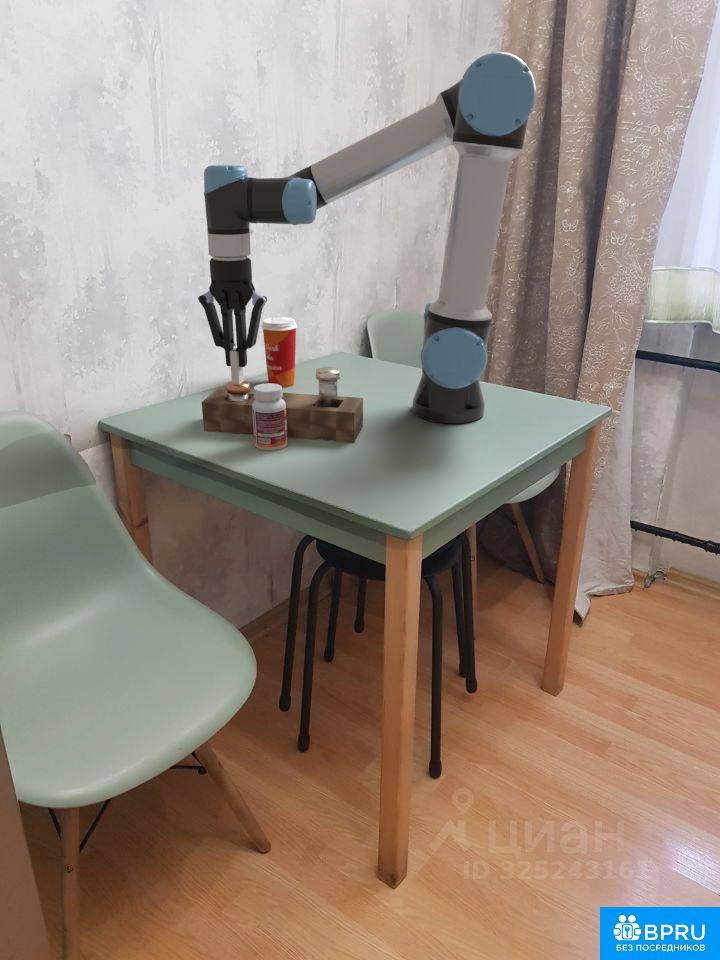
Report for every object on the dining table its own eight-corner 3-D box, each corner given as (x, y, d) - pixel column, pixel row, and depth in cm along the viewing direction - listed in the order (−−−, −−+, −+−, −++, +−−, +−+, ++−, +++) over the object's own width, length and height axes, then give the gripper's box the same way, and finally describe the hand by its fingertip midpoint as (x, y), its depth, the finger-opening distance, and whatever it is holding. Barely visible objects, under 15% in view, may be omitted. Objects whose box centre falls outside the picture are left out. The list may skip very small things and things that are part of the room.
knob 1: (255, 414, 148) (253, 381, 145) (247, 422, 144) (245, 387, 141) (233, 413, 149) (231, 379, 146) (225, 420, 145) (222, 386, 142)
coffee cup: (259, 381, 175) (256, 318, 169) (292, 377, 178) (290, 315, 172) (270, 391, 168) (267, 325, 162) (304, 387, 171) (302, 322, 165)
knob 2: (342, 402, 144) (342, 367, 141) (337, 410, 140) (337, 374, 137) (319, 401, 145) (318, 366, 142) (313, 408, 140) (313, 372, 138)
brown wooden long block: (362, 426, 147) (363, 397, 145) (354, 442, 139) (354, 412, 137) (220, 416, 152) (218, 388, 150) (204, 431, 144) (201, 402, 142)
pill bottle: (293, 447, 137) (291, 388, 132) (263, 454, 134) (260, 394, 129) (277, 437, 142) (275, 380, 137) (248, 443, 139) (245, 385, 134)
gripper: (270, 255, 136) (275, 379, 146) (203, 253, 138) (213, 375, 148) (258, 261, 129) (264, 390, 139) (188, 258, 132) (198, 385, 141)
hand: (237, 382), depth 144 cm, fingers closed
